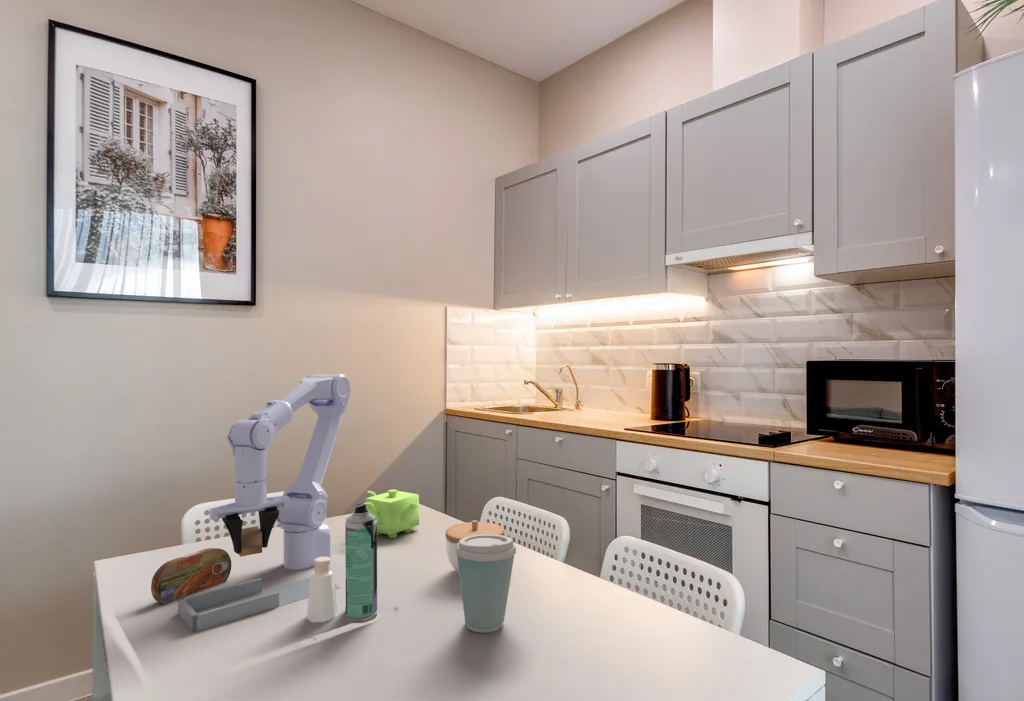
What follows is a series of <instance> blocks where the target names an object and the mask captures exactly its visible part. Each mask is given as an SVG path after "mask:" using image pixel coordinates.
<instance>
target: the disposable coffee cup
mask: <svg viewBox="0 0 1024 701" xmlns="http://www.w3.org/2000/svg"><path fill="white" fill-rule="evenodd" d="M516 548H517V547H516V544H515V543H514V540H513V539H512V538H511V536H510V537H509V536H506V535H504V536H503V535H494V534H481V535H473V536H467V537H464V538H463V539H461V540H459V542H458V543H457V544H456V549H455V551H456V555H457V557H458V566H459V573H458V575H459V574H460V575H459V580H460V581H459V582H460V589H461V590H460V591H461V598H462V605H463V607H462V608H463V614H464V623H465V624H466V628H468V629H469V630H470V631H472V632H476V633H492V632H495V631H497V630H499V629H501V627H502V626H503V623H504V621H505V616H506V610H507V605H508V604H507V603H508V596H509V591H510V585H511V578H512V572H513V567H514V566H513V565H514V557H515V554H517V549H516Z"/></svg>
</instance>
